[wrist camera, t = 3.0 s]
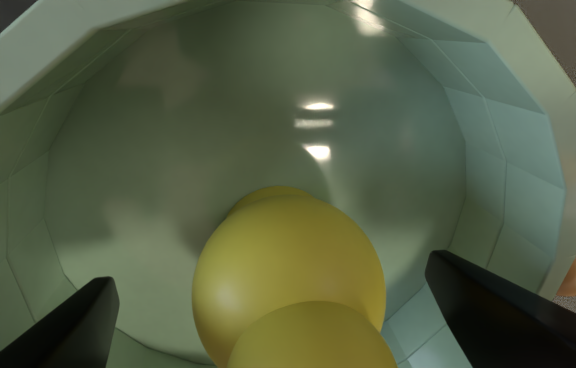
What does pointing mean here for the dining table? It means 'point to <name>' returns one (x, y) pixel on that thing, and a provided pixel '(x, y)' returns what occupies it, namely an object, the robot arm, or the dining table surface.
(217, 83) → the pan
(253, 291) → the pear
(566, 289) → the pan handle
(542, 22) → the dining table surface
